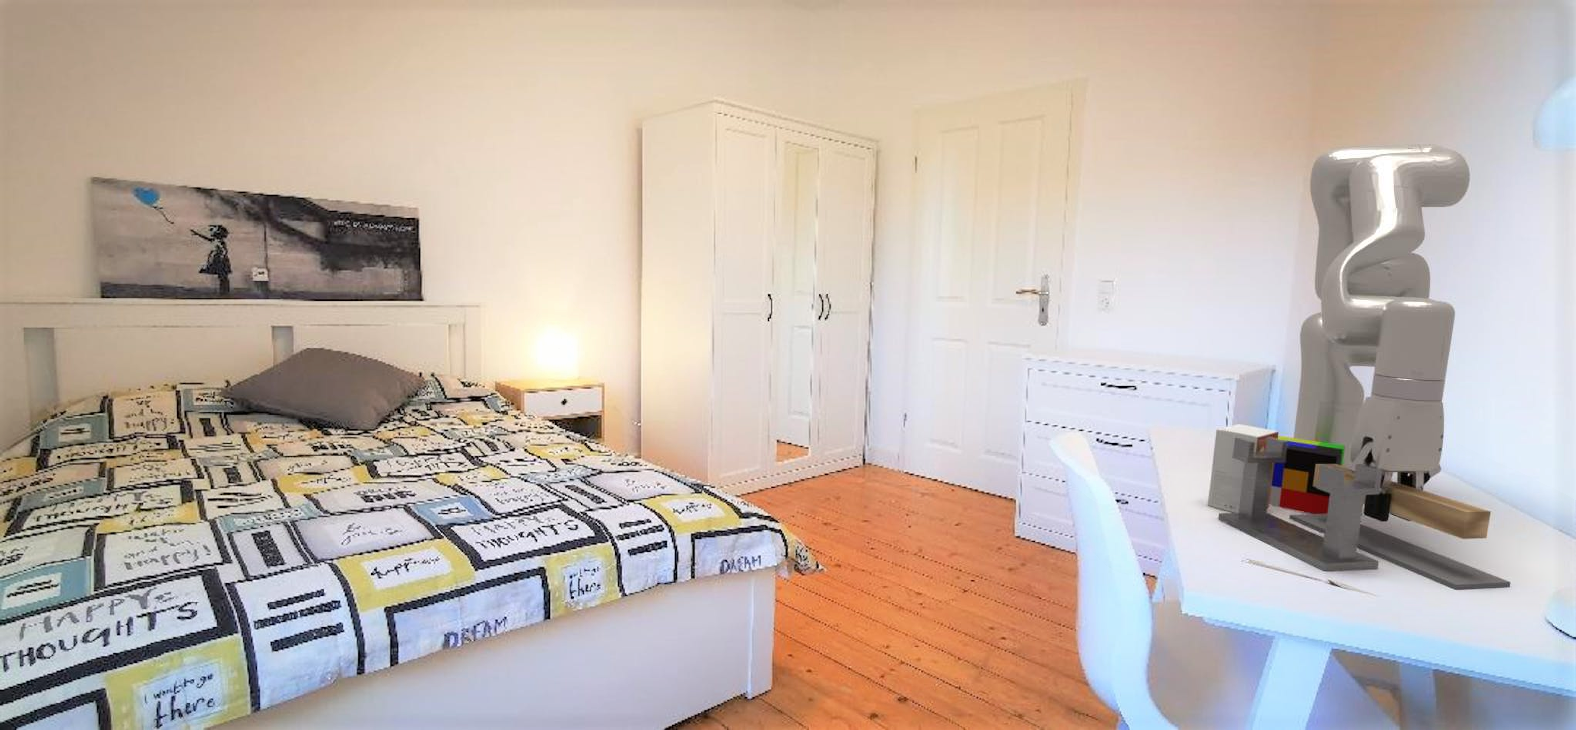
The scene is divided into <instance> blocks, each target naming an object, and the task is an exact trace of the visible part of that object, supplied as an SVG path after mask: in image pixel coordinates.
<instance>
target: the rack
mask: <svg viewBox="0 0 1576 730" xmlns="http://www.w3.org/2000/svg"><path fill="white" fill-rule="evenodd" d="M1287 444H1288V442H1286V441H1283V440H1280V439H1276V438H1273V437H1267V442H1266V451H1265V452H1254V446H1255V442H1252V441H1249V440H1246V439H1243V438H1240V437H1239V438H1235V442H1234V450H1233V457H1232V458H1234V459H1237V460H1239V461H1242V462H1245V463H1244V471H1243V480H1242V488H1241V497H1240V505H1239V513H1234V512H1223V513H1222V512H1220V513H1218V518H1217V519H1219V520H1218V521H1220V520H1221V522H1222V521H1224V522H1226V523H1227V524H1226V523H1225V524H1226V525H1229V526H1230V527H1233V528H1235V529H1237V528H1238V529H1237V530H1238V531H1241V532H1243V531H1244V533H1245V532H1246V533H1245V534H1247V533H1248V534H1247V535H1250V536H1251V535H1252V536H1251V537H1253V536H1254V537H1253V538H1255V539H1257V538H1258V540H1259V541H1261V542H1264V543H1266V544H1268V545H1270V546H1272V547H1273V548H1276V549H1278V550H1280V551H1283V552H1285V553H1286V554H1288V555H1291V556H1293V557H1294V558H1297V559H1299V560H1300V561H1303V562H1304V563H1307V564H1309V565H1311V566H1313V567H1315V568H1318V570H1321V571H1323V572H1331V571H1332V572H1333V571H1352V570H1355V571H1356V570H1373V569H1376V570H1378V568H1379V560H1378V559H1377V560H1376V559H1374V558H1372V557H1369V556H1367V555H1365V554H1362V553H1361V552H1359V551H1358V550H1357V549H1358V548H1357V544H1358V537H1359V530H1360V524H1362V523H1361V521H1362V514H1363V510H1364V504H1363V502H1364V495H1373V494H1380V484H1381V478H1382V470H1379V469H1376V468H1373V467H1369V466H1366V465H1363V464H1356V468H1355V475H1354V482H1344V477H1345V471H1343V470H1340V469H1337V468H1333V467H1330V466H1327V465H1320V466H1319V474H1318V482H1317V487H1316V488H1317V489H1320V490H1322V491H1325V492H1328V493H1330V499H1329V506H1328V513H1327V521H1326V528H1325V533H1324V535H1323V536H1321V535H1318V534H1317V533H1315V532H1312V531H1310V530H1307V529H1305V528H1303V527H1300V526H1298V525H1296V524H1293V523H1291V522H1289V521H1287V520H1284V519H1282V518H1281V517H1278V516H1275V515H1273V514H1270V513H1268V512H1267V511H1268V508H1267V504H1268V496H1269V487H1270V479H1271V471H1272V463H1285V462H1286V452H1287ZM1224 522H1223V523H1224Z"/></svg>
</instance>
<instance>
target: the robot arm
mask: <svg viewBox="0 0 1576 730" xmlns="http://www.w3.org/2000/svg"><path fill="white" fill-rule="evenodd" d="M1310 173H1311V174H1310V178H1309V179H1310V181H1309V187H1310V188H1309V189H1310V196H1311V198H1310V199H1311V201H1312V205H1313V209H1314V211H1315V215H1316V218H1317V224H1318V236H1317V237H1318V238H1317V248H1316V250H1317V251H1316V260H1315V261H1316V262H1315V272H1314V273H1315V274H1314V275H1315V276H1314V290H1315V294H1316V296H1317V298H1318V299H1319V300H1320V309H1321V310H1320V312H1317V313H1314V314H1311V315H1310V316H1308V317H1307V318H1305V319H1304V321H1303V323H1302V325H1301V328H1300V333H1299V335H1300V336H1299V337H1300V338H1299V342H1300V344H1299V345H1300V354H1301V355H1300V356H1301V357H1300V358H1301V359H1300V361H1301V364H1300V365H1301V368H1300V379H1299V380H1300V381H1299V389H1298V399H1297V400H1298V401H1297V407H1296V409H1297V410H1296V417H1295V424H1294V433H1293V438H1296V439H1303V440H1310V441H1316V442H1323V443H1329V444H1336V445H1343V446H1345V451H1344V458H1343V465H1342V466H1344V467H1347V468H1349V470H1350V471H1351V472H1352V473H1353V474H1355V468H1356V464H1363V465H1366V466H1369V467H1373V468H1376V469H1379V470H1382V478H1381V484H1380V494H1373V495H1366V498H1365V504H1363V515H1364V516H1365V517H1368V518H1370V519H1374V520H1377V521H1379V522H1381V523H1382V522H1383V523H1386V522H1388V521H1389V518H1390V515H1391V516H1393V517H1396V518H1399V519H1402V520H1405V521H1408V522H1411V521H1410V520H1408V519H1405V518H1402V517H1399V516H1396V515H1393V514H1391V513H1389V509H1390V502H1391V494H1388V493H1387V492H1388V490H1389V487H1390V483H1391V481H1392V479H1393V477H1394V476H1393V475H1394V473H1396V483H1400V484H1403V485H1406V486H1409V487H1413V488H1416V489H1419V490H1423V491H1424V486H1425V485H1426V484H1427V483H1428V482H1429V481H1430V479H1431V478H1433V477H1435V476H1436V475H1437V474H1439V473H1440V472H1441V471H1442V467H1441V463H1440V462H1441V458H1442V453H1443V447H1444V445H1443V444H1444V434H1445V413H1444V402H1443V397H1444V393H1445V392H1444V391H1445V390H1444V389H1445V384H1446V378H1447V370H1448V363H1449V359H1450V358H1449V356H1450V351H1451V345H1452V337H1453V330H1454V325H1455V317H1456V311H1455V307H1453V305H1452V304H1450V303H1449V302H1446V301H1441V300H1435V299H1432V298H1430V293H1431V292H1430V289H1431V271H1430V266H1429V264H1428V262H1427V260H1426V259H1425V258H1424V257H1423V256H1422V255H1420V254H1418V253H1415V252H1414V251H1416V250H1417V249H1418V248H1420V247H1421V245H1422V244H1423V242H1424V240H1425V238H1426V232H1425V225H1424V224H1425V223H1424V216H1423V209H1422V208H1447V207H1451V206H1452V207H1453V206H1454V205H1457V204H1458V203H1460V201H1461V200H1463V198H1464V197H1465V195H1466V194H1467V192H1468V189H1469V185H1470V180H1471V175H1470V174H1471V173H1470V168H1469V164H1468V162H1467V160H1466V159H1465V157H1464V156H1463V155H1462V154H1461V153H1459V152H1458V151H1457V150H1453V149H1450V148H1447V147H1444V146H1441V145H1438V144H1397V145H1360V146H1346V147H1341V148H1335V149H1334V148H1333V149H1331V150H1328V151H1326V152H1323V153H1321V154H1320V155H1319V156H1318V157H1317V158H1316V160H1315V162H1314V163H1313V165H1312V168H1311V172H1310ZM1352 367H1370V368H1371V367H1372V368H1374V371H1373V377H1372V384H1371V392H1370V396H1366V397H1365V389H1364V387H1363V384H1362V383H1361V381H1360V380H1359V379H1358V378H1357V377H1356V376H1355V375H1354V373H1353V372H1352V370H1351V368H1352Z"/></svg>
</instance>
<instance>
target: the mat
mask: <svg viewBox="0 0 1576 730" xmlns="http://www.w3.org/2000/svg"><path fill="white" fill-rule="evenodd" d="M1288 519H1290V520H1291V521H1292V520H1293V521H1294V522H1296V523H1299V524H1302V525H1304V526H1306V527H1308V528H1310V529H1313V530H1315V531H1318V532H1319V533H1322V534H1325V528H1326V521H1327V514H1311V513H1305V514H1289V518H1288ZM1357 549H1359V550H1362V551H1365V552H1367V553H1369V554H1372V555H1374V556H1376V557H1379V558H1381V559H1383V560H1386V561H1388V562H1391V563H1393V564H1395V565H1396V566H1400V567H1402V568H1404V569H1407V570H1409V571H1411V572H1414V573H1416V574H1419V575H1421V576H1423V577H1425V578H1427V579H1430V580H1433V581H1435V582H1438V583H1439V582H1440V583H1439V584H1442V585H1444V586H1447V587H1449V588H1451V589H1453V590H1468V589H1471V588H1472V589H1487V588H1488V589H1489V588H1505V587H1506V588H1507V587H1511V581H1508V580H1506V579H1504V578H1501V577H1498V576H1497V575H1494V574H1491V573H1488V572H1485V571H1483V570H1481V569H1479V568H1475V567H1473V566H1470V565H1468V564H1466V563H1463V562H1460V561H1457V560H1455V559H1453V558H1450V557H1447V556H1446V555H1445V556H1444V555H1442V554H1439V553H1436V552H1434V551H1432V550H1431V549H1430V550H1429V549H1427V548H1425V547H1422V546H1419V545H1417V544H1414V543H1412V542H1409V541H1406V540H1403V539H1401V538H1399V537H1396V536H1394V535H1391V534H1388V533H1385V532H1383V531H1380V530H1378V529H1375V528H1373V527H1370V526H1368V525H1366V524H1363V523H1360V530H1359V537H1358V544H1357Z"/></svg>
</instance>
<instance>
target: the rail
mask: <svg viewBox="0 0 1576 730" xmlns="http://www.w3.org/2000/svg"><path fill="white" fill-rule="evenodd" d="M1320 465H1327V466H1330V467H1333V468H1337V469H1340V470H1343V471H1345V477H1344V482H1354V475H1355V474H1353V473H1352V472H1351V471H1350V470H1349V468H1347V467H1344V466H1341V465H1338V464H1316V466H1315V473H1314V481H1313V486H1314V487H1317V482H1318V474H1319V466H1320ZM1387 493H1388V494H1391V502H1390V509H1389V514H1390V513H1391V514H1393V515H1396V516H1399V517H1402V518H1405V519H1408V520H1410V521H1409V522H1414V523H1416V524H1419V525H1422V526H1425V527H1427V528H1429V529H1430V528H1431V529H1433V530H1436V531H1439V532H1442V533H1445V534H1447V535H1450V536H1454V537H1457V538H1459V539H1462V540H1470V539H1487V537H1488V530H1489V524H1490V518H1491V510H1488V509H1484V508H1481V507H1477V506H1474V505H1471V504H1468V503H1464V502H1461V501H1458V500H1455V499H1452V498H1448V497H1444V496H1441V495H1440V494H1439V495H1438V494H1435V493H1433V492H1432V493H1431V492H1429V491H1425V490H1424V489H1423V490H1419V489H1416V488H1413V487H1409V486H1406V485H1403V484H1400V483H1397V481H1393V480H1391V483H1390V487H1389V490H1388V492H1387ZM1365 498H1366V495H1364V502H1363V505H1365ZM1391 514H1390V515H1391ZM1393 515H1392V516H1393ZM1396 516H1395V517H1396ZM1399 517H1398V518H1399ZM1402 518H1401V519H1402Z"/></svg>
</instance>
